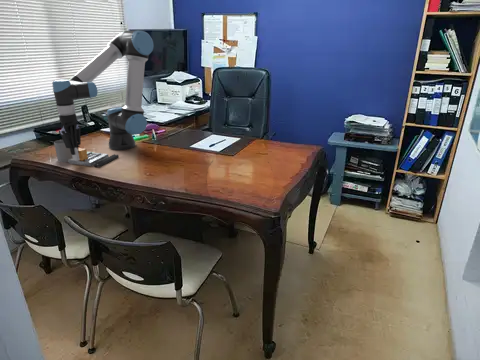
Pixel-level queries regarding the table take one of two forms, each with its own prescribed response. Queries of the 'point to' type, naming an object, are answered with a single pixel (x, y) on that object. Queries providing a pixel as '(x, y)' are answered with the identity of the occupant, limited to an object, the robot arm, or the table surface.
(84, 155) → the tan wooden block
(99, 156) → the panel
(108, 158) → the black bar
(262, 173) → the table surface
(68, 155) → the cup
